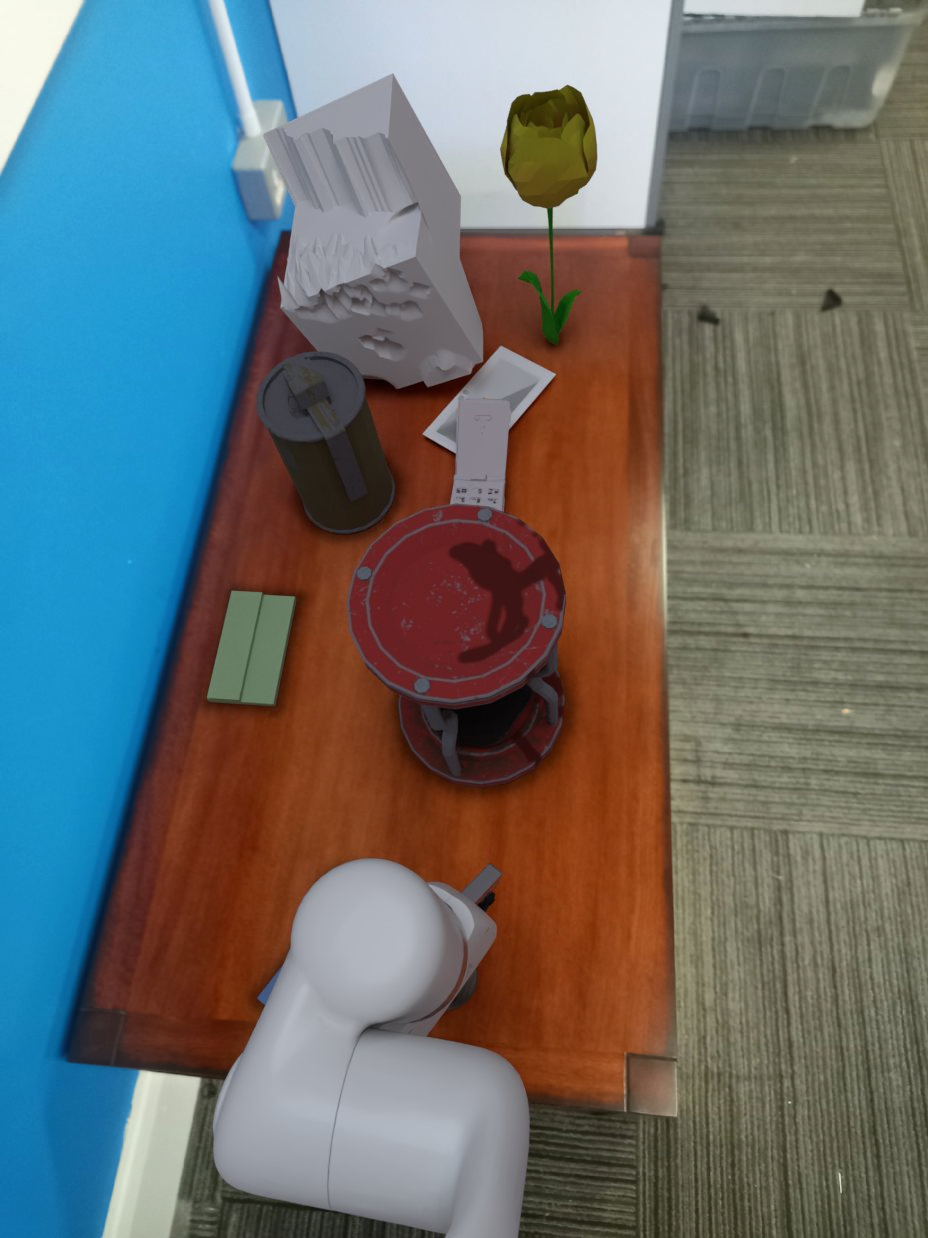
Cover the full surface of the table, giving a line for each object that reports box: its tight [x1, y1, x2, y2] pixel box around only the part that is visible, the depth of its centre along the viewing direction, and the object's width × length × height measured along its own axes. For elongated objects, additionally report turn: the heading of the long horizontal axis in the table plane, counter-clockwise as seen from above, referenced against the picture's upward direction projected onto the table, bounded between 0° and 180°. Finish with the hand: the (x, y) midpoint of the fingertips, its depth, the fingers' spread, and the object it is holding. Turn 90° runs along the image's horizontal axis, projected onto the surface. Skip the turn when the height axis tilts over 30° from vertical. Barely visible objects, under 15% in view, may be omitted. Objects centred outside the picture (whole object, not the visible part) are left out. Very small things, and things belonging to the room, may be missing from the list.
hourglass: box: [346, 503, 567, 789], centre depth 76 cm, size 16×16×25 cm
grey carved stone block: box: [262, 73, 484, 390], centre depth 97 cm, size 20×16×25 cm
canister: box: [255, 350, 396, 535], centre depth 90 cm, size 11×10×20 cm
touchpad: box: [422, 345, 557, 454], centre depth 101 cm, size 8×15×2 cm, turn 143°
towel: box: [206, 590, 298, 707], centre depth 92 cm, size 12×7×1 cm, turn 174°
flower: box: [499, 84, 598, 346], centre depth 92 cm, size 9×8×30 cm
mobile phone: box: [449, 399, 511, 512], centre depth 93 cm, size 6×6×25 cm
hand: (439, 969), depth 68 cm, fingers open, 7 cm apart
